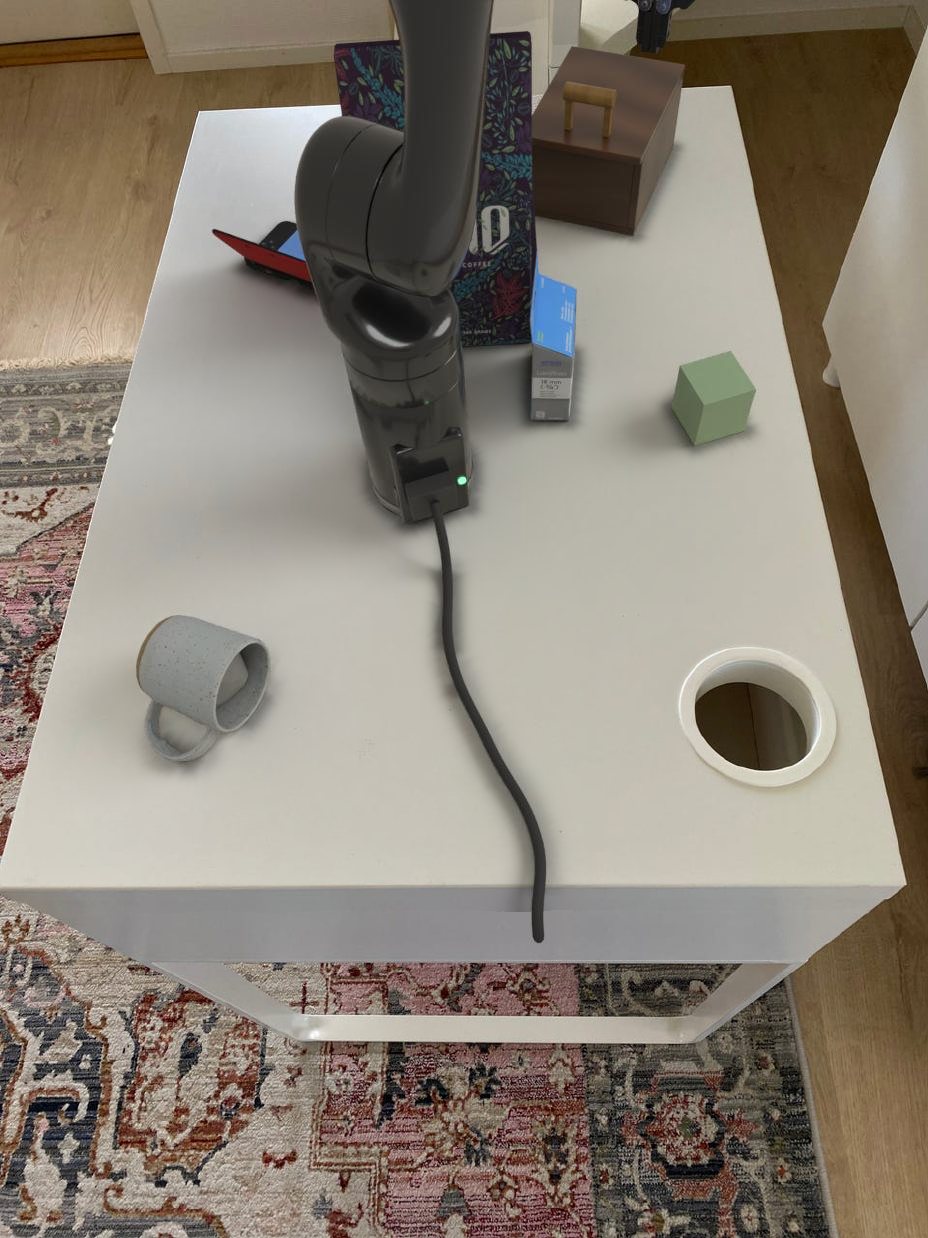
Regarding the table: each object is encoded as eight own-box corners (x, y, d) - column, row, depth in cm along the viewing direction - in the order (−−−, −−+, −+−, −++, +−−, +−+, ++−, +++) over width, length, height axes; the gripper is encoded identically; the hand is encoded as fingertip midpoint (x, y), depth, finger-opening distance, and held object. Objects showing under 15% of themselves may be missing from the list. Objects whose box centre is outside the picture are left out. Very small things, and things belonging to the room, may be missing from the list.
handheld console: (379, 259, 101) (369, 198, 95) (323, 323, 97) (308, 264, 90) (284, 225, 105) (268, 164, 98) (227, 286, 101) (206, 227, 94)
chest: (633, 236, 101) (642, 160, 93) (523, 212, 104) (522, 138, 96) (673, 148, 108) (684, 72, 100) (568, 129, 110) (571, 53, 103)
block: (744, 431, 87) (756, 389, 82) (694, 446, 86) (704, 405, 82) (719, 393, 89) (730, 350, 84) (671, 407, 89) (679, 365, 84)
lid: (640, 165, 93) (646, 113, 88) (520, 142, 96) (519, 90, 91) (684, 71, 100) (692, 18, 95) (571, 52, 103) (573, 0, 98)
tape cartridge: (570, 423, 89) (576, 323, 78) (529, 421, 89) (529, 322, 78) (574, 354, 93) (580, 250, 82) (534, 352, 93) (535, 249, 82)
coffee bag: (537, 346, 94) (541, 64, 69) (373, 354, 94) (320, 78, 70) (533, 288, 98) (535, 3, 73) (376, 297, 98) (327, 17, 74)
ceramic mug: (197, 635, 79) (165, 590, 73) (281, 667, 77) (256, 623, 71) (128, 745, 75) (88, 707, 68) (216, 782, 73) (183, 747, 66)
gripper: (581, -168, 73) (571, 59, 88) (751, -150, 70) (711, 82, 85) (610, -209, 76) (596, 16, 91) (774, -193, 73) (731, 37, 88)
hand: (651, 48), depth 88 cm, fingers closed
